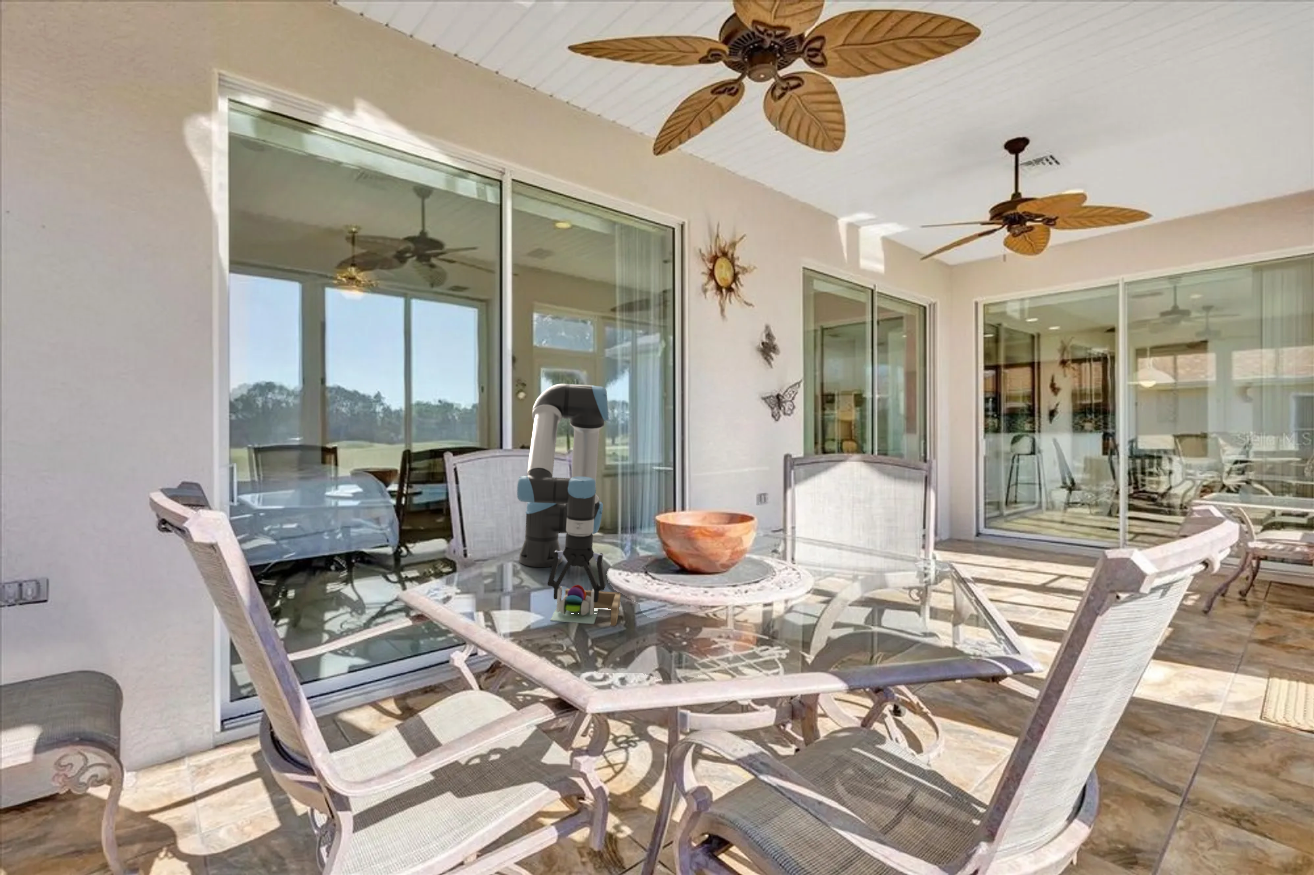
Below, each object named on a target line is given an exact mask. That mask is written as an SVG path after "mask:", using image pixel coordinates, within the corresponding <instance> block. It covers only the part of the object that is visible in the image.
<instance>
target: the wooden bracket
mask: <svg viewBox="0 0 1314 875" xmlns="http://www.w3.org/2000/svg"><path fill="white" fill-rule="evenodd" d="M570 589H571V588H565V590H564V596H565V595H567V594H568V591H569V590H570ZM584 591H585V592H586V596H590V597H591V591H592V589H591V590H590V589H589V590H588V589H584ZM621 596H622V595H621V592H616V591H615V592H614V591H605V590H604V591H603V590H600V591H599V598H598V601H597V602H594V608H608V609H611V611H610V626H617V623H618V618H619V615H618V613H619V614H620V611H619V607H620V608H621Z"/></svg>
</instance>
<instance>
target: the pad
mask: <svg viewBox="0 0 1314 875" xmlns="http://www.w3.org/2000/svg"><path fill="white" fill-rule="evenodd" d="M597 612H599V610H598V611H594V612H593V615H590V609H589V612H588V613H587V614H586V615H581V610H580V611H577V612H570V611H566V613H565V614H563V613H561V612H560V611H559V612H557V607H556V609H555V610H554V612H553V613H552V616H551V618H550V621H551V622H564V623H577V624H589V625H590V624H591V625H594V624H595V622H596V619H597V616H598V613H597ZM571 613H574V614H571ZM578 613H579V614H578ZM594 613H597V614H594Z"/></svg>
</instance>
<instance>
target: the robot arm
mask: <svg viewBox="0 0 1314 875" xmlns="http://www.w3.org/2000/svg"><path fill="white" fill-rule="evenodd" d="M607 392H608V391H607V389H606V387H604V386H600V385H593V384H572V383H558V384H557V383H556V384H554V385H552V386H549V387H548V388H547V389H545V390H544V391H543V392H542V393H541V394H540V395H538V397H537V398H536V400H535V402H534V404H533V407H532V412H531V418H532V421H533V427H532V435H531V440H530V450H529V456H528V463H527V470H526V471H527V472H526V475H520V476H519V477H518V481H517V490H516V497H517V500H518V501H520V502H524V503H526V509H525V510H526V511H525V515H526V516H525V534H524V537H525V538H524V542H523V543H522V547H521V549H520V552H519V556H518V558H519V559H518V562H519V563H520V564H521V565H524V566H527V567H534V568H549V567H551V569H550V573H549V577H548V581H547V586H548V587H552V588H553V599H554V600H556V608H557V612H559V608H558V606H559V603H560V601H561V600H562V593H563V586H562V585H561V583H562V581H563V579H564V578H565V576H566V575H567V572H568V571H569V569H570V567H580V568H584V571H585V572H586V575H587V577H588V580H589V582H590V584H591V586H592V589H591V605H590V615H593V612H594V602H597V601H598V598H599V591H603V590H604V591H605V588H606V585H607V583H606V579H605V578H606V577H605V571H604V565H603V559H604V558H603V557H604V554H603V553H602V552H600V553H597V552H594V550H593V543H594V535H595V534H597V533H598V532H599V530H600V526H601V522H602V516H603V508H604V504H603V502H601V501H600V497H599V495H597V492H596V491H597V474H598V473H597V472H598V457H599V456H598V455H599V440H600V430H602V429H603V428H604V427H605V422H608V421H610V420H609V418H610V417H609V406H608V404H609V403H608V394H607ZM562 419H566V420H567V419H568V420H569V426H571V427H572V429H573V446H572V462H571V463H572V465H571V477H554V476H553V475H554V465H555V454H556V447H557V444H556V443H557V436H558V427H559V424H560V423H561V421H562ZM559 534H565V542H564V543H565V544H564V549H563V550H562V549H561V546H560V543H559ZM563 557H564V558H565V560H566V561H567V562H566V564H565V565H564V567H563V569H562V571H561V572H560V575H559V577H557V579H556V581H555V577H556V574H557V570H558V566H559V565H560V564H561V563H562V562H563ZM592 558H593V559H594V562H596V567H597V568H596V569H597V574H598V580H599V582H598V580H597V578H596V576H595V573H594V571H593V568H592V566H591V563H590V561H591V560H592ZM560 585H561V586H560Z"/></svg>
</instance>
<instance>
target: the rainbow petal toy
mask: <svg viewBox="0 0 1314 875" xmlns="http://www.w3.org/2000/svg"><path fill="white" fill-rule="evenodd" d="M569 589H570V590H569V591H568V594H567V595H565V594H564V596H563V599H561V601H560V603H559V606H558V608H559V611H560V612H561V613H563V614H565V613H566V611H570V612H577V611H580V610H581V615H586V614H587V613H588V612H589V609H590V605H591V597H590V596H586V592H585V591H584V590H585V588H584V587H583V586H582V585H580V584H575V585H573V586H571V588H569Z"/></svg>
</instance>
